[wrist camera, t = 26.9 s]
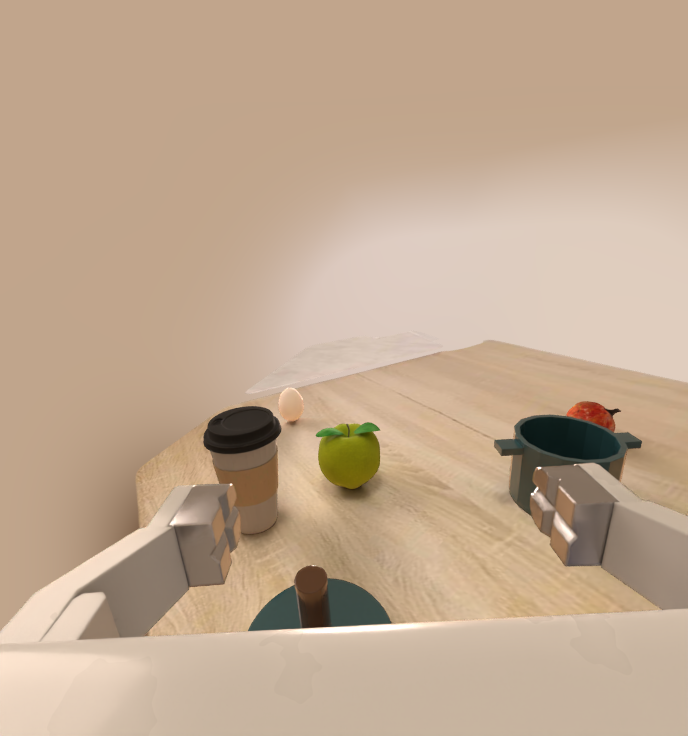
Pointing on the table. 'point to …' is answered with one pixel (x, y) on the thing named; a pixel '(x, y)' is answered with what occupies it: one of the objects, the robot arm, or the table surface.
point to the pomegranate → (594, 414)
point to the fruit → (349, 454)
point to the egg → (290, 404)
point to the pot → (560, 450)
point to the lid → (319, 604)
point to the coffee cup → (247, 462)
